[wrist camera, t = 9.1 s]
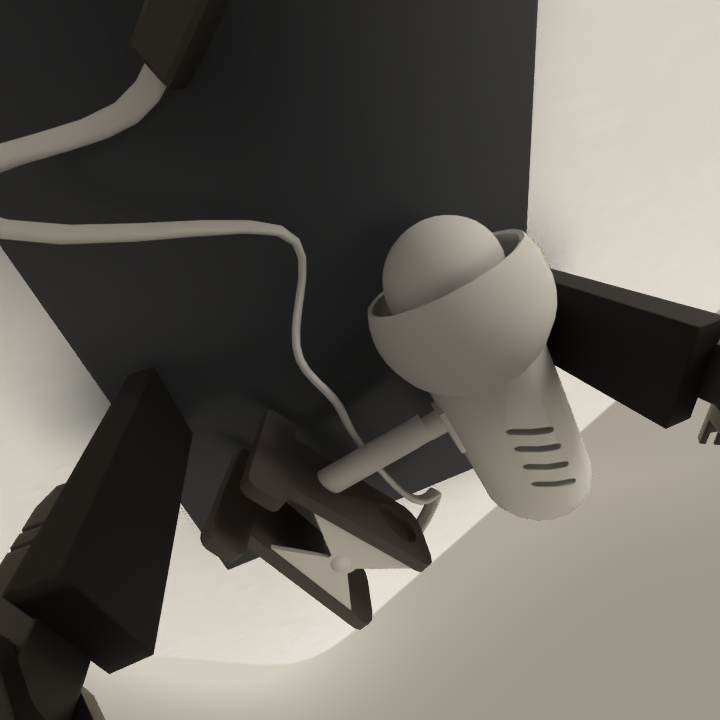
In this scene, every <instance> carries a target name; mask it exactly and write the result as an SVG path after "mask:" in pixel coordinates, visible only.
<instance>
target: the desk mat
mask: <svg viewBox="0 0 720 720" xmlns="http://www.w3.org/2000/svg"><path fill="white" fill-rule="evenodd" d="M144 2H145V0H0V143H4V142H7V141H11V140H15V139H18V138H22V137H25V136H29V135H32V134H36V133H39V132H42V131H45V130H49V129H52V128H55V127H58V126H61V125H65V124H68V123H71V122H74V121H78V120H81V119H83V118H85V117H87V116H89V115H91V114H93V113H95V112H97V111H99V110H101V109H103V108H105V107H107V106H109V105H111V104H114V103H115V102H116V101H117V100H118V99H119V98H120V97H121V96H122V95H123V94H124V93H125V92H126V91H127V90H128V89H129V88H130V87H131V86H132V84H133V83H134V82H135V81H136V80H137V78H138V76H139V74H140V72H141V70H142V68H143V65H144V62H143V61H142V60H141V59H140V58H139V57H138V55H137V54H136V53H135V52H134V51H133V49H132V47H131V42H130V40H131V37H132V34H133V32H134V29H135V26H136V24H137V21H138V18H139V15H140V13H141V10H142V7H143V4H144ZM537 8H538V0H230V2H229V5H228V7H227V9H226V11H225V13H224V15H223V17H222V19H221V21H220V23H219V25H218V27H217V29H216V31H215V33H214V35H213V37H212V39H211V41H210V43H209V45H208V47H207V49H206V51H205V53H204V55H203V57H202V59H201V61H200V63H199V65H198V67H197V69H196V71H195V73H194V75H193V77H192V79H191V81H190V84H189V85H188V86H187V87H186V88H184V89H171V88H168V87H166V89H165V91H164V93H163V95H162V97H161V99H160V101H159V102H158V103H157V104H156V105H155V106H154V107H153V108H152V109H151V110H150V111H149V112H148V113H147V114H146V115H145V116H144V117H143V118H142V119H141V120H140V122H139V123H137V124H135V125H133V126H131V127H129V128H127V129H125V130H123V131H121V132H119V133H117V134H115V135H114V136H112V137H110V138H108V139H105V140H101V141H98V142H95V143H92V144H89V145H86V146H83V147H80V148H77V149H74V150H71V151H68V152H64V153H61V154H58V155H54V156H51V157H47V158H44V159H40V160H37V161H33V162H30V163H27V164H23V165H20V166H17V167H15V168H12V169H9V170H6V171H4V172H1V173H0V217H1V218H4V219H7V220H17V221H29V222H42V223H54V224H67V225H86V224H128V223H155V222H175V221H196V220H252V221H257V222H263V223H269V224H274V225H280V226H283V227H284V228H285V229H287V230H288V231H289V232H291V233H292V234H293V235H295V236H296V237H297V238H299V239H300V242H301V245H302V248H303V250H304V253H305V256H306V284H305V292H304V300H303V308H302V315H301V327H300V345H301V350H302V354H303V358H304V359H305V361H306V363H307V364H308V366H309V368H310V369H311V370H312V371H313V372H314V374H315V375H316V376H317V377H318V378H319V379H320V380H321V381H322V382H323V383H324V384H325V385H326V386H327V387H328V388H329V389H330V390H331V391H332V392H333V393H334V394H335V395H336V396H337V397H338V399H339V400H340V402H341V403H342V404H343V406H344V408H345V410H346V412H347V414H348V416H349V419H350V421H351V423H352V425H353V427H354V429H355V431H356V432H357V434H358V436H359V437H360V439H361V440H362V442H363V443H364V445H365V444H367V443H369V442H370V441H372V440H374V439H376V438H377V437H379V436H381V435H383V434H384V433H386V432H388V431H390V430H391V429H393V428H395V427H397V426H398V425H400V424H402V423H404V422H405V421H407V420H409V419H410V418H412V417H414V416H416V415H417V414H418V415H419V417H420V418H422V417H423V416H425V415H427V414H429V413H430V412H432V411H434V408H433V407H432V405H431V403H433V402H434V400H433V398H432V396H431V395H430V393H429V392H427V391H424V390H422V389H419V388H417V387H415V386H413V385H412V384H410V383H409V382H408V381H406V380H405V379H403V378H402V377H401V376H400V375H398V374H397V373H396V372H395V371H394V370H393V369H392V368H391V367H390V366H389V365H388V364H387V363H386V362H385V361H384V359H383V358H382V357H381V355H380V354H379V352H378V350H377V348H376V346H375V344H374V342H373V339H372V335H371V332H370V329H369V321H368V308H369V306H370V305H371V303H372V302H373V300H374V299H375V298H376V297H377V296H378V295H380V294H381V293H382V292H383V282H382V280H383V269H384V264H385V261H386V258H387V256H388V253H389V252H390V250H391V248H392V246H393V245H394V243H395V242H396V241H397V239H398V238H399V237H400V236H401V235H402V234H403V233H404V232H405V231H406V230H407V229H409V228H410V227H412V226H413V225H415V224H417V223H418V222H420V221H422V220H424V219H428V218H431V217H434V216H440V215H457V216H462V217H467V218H469V219H472V220H475V221H477V222H478V223H480V224H482V225H483V226H485V227H486V228H487V229H488V230H489V231H491V232H492V233H493V232H497V231H503V230H508V229H517V230H523V231H524V232H525V233H526V230H527V210H528V190H529V170H530V150H531V129H532V109H533V89H534V69H535V48H536V28H537ZM0 246H1V247H2V249H3V250H4V252H5V253H6V254H7V256H8V257H9V259H10V260H11V262H12V263H13V264H14V266H15V267H16V269H17V270H18V272H19V273H20V274H21V276H22V277H23V279H24V280H25V282H26V283H27V284H28V286H29V287H30V289H31V290H32V291H33V293H34V294H35V296H36V297H37V299H38V300H39V301H40V303H41V304H42V306H43V307H44V309H45V310H46V311H47V313H48V314H49V316H50V317H51V319H52V320H53V321H54V323H55V324H56V326H57V327H58V329H59V330H60V331H61V333H62V334H63V336H64V337H65V339H66V340H67V341H68V343H69V344H70V346H71V347H72V349H73V350H74V351H75V353H76V354H77V356H78V357H79V359H80V360H81V361H82V363H83V364H84V366H85V367H86V368H87V370H88V371H89V373H90V374H91V376H92V377H93V378H94V380H95V381H96V383H97V384H98V386H99V387H100V388H101V390H102V391H103V393H104V394H105V396H106V397H107V398H108V400H109V401H110V403H111V404H112V402H113V400H114V398H115V397H116V395H117V393H118V391H119V390H120V388H121V386H122V384H123V383H124V381H125V379H126V377H127V376H128V375H129V374H132V373H135V372H139V371H142V370H145V369H149V368H152V367H155V369H156V371H157V373H158V374H159V376H160V378H161V379H162V381H163V383H164V385H165V386H166V388H167V390H168V391H169V393H170V395H171V397H172V398H173V400H174V402H175V404H176V405H177V407H178V409H179V410H180V412H181V414H182V416H183V417H184V419H185V421H186V422H187V424H188V426H189V428H190V429H191V431H192V433H193V435H192V441H191V446H190V452H189V458H188V463H187V469H186V474H185V480H184V486H183V491H182V497H181V504H182V505H183V507H184V508H185V510H186V511H187V512H188V514H189V515H190V517H191V518H192V520H193V521H194V522H195V524H196V525H197V527H198V528H199V530H200V531H201V532H202V529H203V527H204V525H205V522H206V520H207V517H208V515H209V512H210V510H211V507H212V505H213V503H214V500H215V498H216V495H217V493H218V490H219V488H220V485H221V483H222V480H223V478H224V476H225V473H226V471H227V468H228V466H229V463H230V461H231V458H232V457H233V456H234V455H235V454H236V453H237V452H238V451H239V450H240V449H245V450H247V451H249V452H251V449H252V446H253V443H254V440H255V437H256V434H257V431H258V428H259V425H260V422H261V419H262V417H263V416H264V415H265V414H266V413H267V412H268V411H269V410H274V411H275V412H277V413H279V414H280V415H281V416H283V417H284V418H286V419H287V420H288V421H290V422H291V423H292V424H293V425H294V426H295V428H296V439H297V440H299V441H301V442H302V443H304V444H305V445H307V446H308V447H310V448H312V449H313V450H315V451H316V452H318V453H320V454H321V455H323V456H324V457H326V458H328V459H329V460H331V461H332V462H335V461H337V460H339V459H341V458H342V457H344V456H346V455H348V454H349V453H351V452H353V451H355V450H356V449H358V446H357V445H356V444H355V442H354V441H353V439H352V438H351V436H350V435H349V433H348V432H347V430H346V428H345V426H344V424H343V423H342V421H341V419H340V417H339V415H338V413H337V411H336V409H335V407H334V406H333V405H332V403H331V402H330V401H329V400H328V399H327V397H326V396H325V395H324V394H323V393H322V392H321V391H320V390H319V389H317V388H316V387H315V386H314V385H313V384H312V383H311V382H310V380H309V379H308V378H307V377H306V376H305V375H304V374H303V372H302V371H301V369H300V367H299V365H298V364H297V362H296V360H295V356H294V352H293V348H292V321H293V312H294V305H295V298H296V291H297V284H298V257H297V255H296V252H295V250H294V247H293V245H292V244H290V243H288V242H286V241H285V240H283V239H281V238H280V237H278V236H271V235H258V234H230V235H214V236H198V237H185V238H173V239H161V240H149V241H137V242H114V243H85V244H51V243H40V242H30V241H19V240H9V239H0ZM472 468H473V467H472V465H471V463H470V462H469V460H468V458H467V457H466V455H465V453H463V454H462V453H461V451H460V450H459V449H458V447H457V446H456V444H455V443H454V442H453V440H452V439H451V437H450V435H449V434H448V432H446V433H445V434H443V435H441V436H439V437H437V438H436V439H434V440H431V441H429V442H427V443H425V444H424V445H422V446H420V447H419V448H418V449H416V450H414V451H412V452H410V453H409V454H407V455H405V456H403V457H402V458H400V459H398V460H396V461H394V462H393V463H391V464H389V465H387V466H386V467H384V468H383V469H384V470H385V472H386V473H387V474H388V475H389V476H390V477H391V478H392V479H393V480H394V481H395V482H396V483H397V484H398V485H399V486H401V487H402V488H403V489H404V490H406V491H407V492H409V493H410V494H412V493H415V492H417V491H419V490H422V489H424V488H427V487H429V486H431V485H434V484H436V483H439V482H441V481H444V480H446V479H448V478H451V477H453V476H456V475H458V474H460V473H463V472H465V471H468V470H470V469H472ZM362 481H364V482H366V483H367V484H369V485H370V486H372V487H374V488H375V489H377V490H378V491H380V492H382V493H383V494H385V495H386V496H388V497H389V498H391V499H393V500H394V501H395V500H398V499H400V498H403V496H402V495H400V494H399V493H398V492H397V491H396V490H395V489H393V488H392V487H391V486H390V485H389V484H388V483H387V482H386V480H385V479H384V478H383V477H382V476H381V475H380V474H379V473H378V472H375V473H373V474H371V475H370V476H368V477H366V478H364V479H362ZM258 557H259V556H258V555H257V554H255V553H254V552H253V551H251V550H250V549H249V548H248V547H247V550H246V552H245V554H243V555H242V556H241V557H240V558H239V559H237V560H236V561H235V562H232V563H228V562H225V561H224V560H222V559H221V558H220V560H221V561H222V562H223V564H224V565H225V567H226V568H227V569H228V570H229V569H232V568H234V567H236V566H239V565H241V564H244V563H246V562H248V561H251V560H253V559H256V558H258Z"/></svg>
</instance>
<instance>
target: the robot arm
mask: <svg viewBox="0 0 720 720" xmlns="http://www.w3.org/2000/svg"><path fill="white" fill-rule="evenodd" d="M550 270H551V272H552V274H553V278H554V282H555V286H556V290H557V309H556V316H555V320H554V323H553V326H552V329H551V331H550V334H549V337H548V340H547V343H546V344H547V347H548V350H549V352H550V355H551V358H552V360H553V363H554V365H555V366H557V367H559V368H561V369H562V370H564V371H566V372H568V373H569V374H571V375H573V376H575V377H576V378H578V379H580V380H582V381H583V382H585V383H587V384H588V385H590V386H592V387H594V388H595V389H597V390H599V391H601V392H602V393H604V394H606V395H608V396H609V397H611V398H613V399H615V400H616V401H618V402H620V403H622V404H623V405H625V406H627V407H629V408H630V409H632V410H634V411H635V412H637V413H639V414H641V415H642V416H644V417H646V418H648V419H649V420H651V421H653V422H655V423H656V424H658V425H660V426H662V427H663V428H665V429H667V428H669V427H671V426H673V425H676V424H678V423H680V422H682V421H685V420H687V419H689V418H690V417H691V414H692V412H693V409H694V406H695V404H696V401H697V398H700V399H703V400H705V401H707V402H709V403H711V405H710V408H709V410H708V413H707V415H706V418H705V420H704V423H703V425H702V428H701V430H700V433H699V435H698V439H699V443H701V444H706V442H707V439H708V437H709V434H710V433H711V432H717V431H718V433H717V435H716V437H715V440H714V444H715V445H720V315H719V314H715V313H712V312H708V311H704V310H701V309H697V308H693V307H690V306H686V305H682V304H679V303H675V302H671V301H668V300H664V299H660V298H657V297H653V296H649V295H646V294H642V293H638V292H635V291H631V290H627V289H624V288H620V287H616V286H613V285H609V284H605V283H602V282H598V281H595V280H591V279H587V278H584V277H580V276H576V275H573V274H569V273H565V272H562V271H558V270H554V269H551V268H550ZM192 435H193V433H192V431H191V429H190V428H189V426H188V424H187V422H186V421H185V419H184V417H183V416H182V414H181V412H180V410H179V409H178V407H177V405H176V404H175V402H174V400H173V398H172V397H171V395H170V393H169V391H168V390H167V388H166V386H165V385H164V383H163V381H162V379H161V378H160V376H159V374H158V373H157V371H156V369H155V367H152V368H149V369H145V370H142V371H139V372H135V373H132V374H129V375H128V376H127V377H126V379H125V381H124V383H123V384H122V386H121V388H120V390H119V391H118V393H117V395H116V397H115V398H114V400H113V402H112V404H111V405H110V407H109V409H108V411H107V412H106V414H105V416H104V418H103V419H102V421H101V423H100V425H99V426H98V428H97V430H96V432H95V433H94V435H93V437H92V439H91V440H90V442H89V444H88V446H87V447H86V449H85V451H84V453H83V454H82V456H81V458H80V460H79V461H78V463H77V465H76V467H75V468H74V470H73V472H72V474H71V475H70V477H69V479H68V481H67V482H66V483H65V484H62V485H59V486H56V488H55V489H54V490H53V491H52V492H51V493H50V494H49V495H48V496H47V497H46V498H45V499H44V500H43V501H42V502H41V503H40V504H39V505H38V506H37V507H36V508H35V509H34V511H33V513H32V514H31V516H30V518H29V519H28V521H27V522H26V524H25V526H24V527H23V529H22V531H23V533H21V534H19V535H18V537H17V538H16V540H15V542H14V543H13V545H12V546H11V548H10V549H11V552H10V553H7V555H6V556H5V558H4V559H3V561H2V563H1V564H0V720H105V718H104V716H103V714H102V712H101V710H100V708H99V706H98V703H97V701H96V700H95V697H94V695H92V694H91V693H90V692H89V691H88V690H87V689H86V688H84V687H83V683H84V680H85V677H86V674H87V670H88V667H89V664H90V661H92V662H94V663H95V664H96V665H98V666H99V667H100V668H102V669H103V670H104V671H106V672H107V673H109V674H110V673H113V672H115V671H117V670H120V669H122V668H124V667H126V666H129V665H131V664H133V663H135V662H138V661H140V660H142V659H144V658H146V657H149V656H151V655H153V654H154V649H155V643H156V637H157V632H158V626H159V621H160V615H161V609H162V604H163V598H164V592H165V587H166V581H167V576H168V570H169V564H170V559H171V553H172V547H173V542H174V536H175V531H176V525H177V519H178V514H179V508H180V503H181V497H182V491H183V486H184V480H185V474H186V469H187V463H188V458H189V452H190V446H191V441H192Z"/></svg>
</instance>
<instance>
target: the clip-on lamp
mask: <svg viewBox="0 0 720 720" xmlns="http://www.w3.org/2000/svg"><path fill="white" fill-rule="evenodd" d="M229 2H230V0H145V2H144V4H143V7H142V10H141V13H140V15H139V18H138V21H137V24H136V26H135V29H134V32H133V34H132V37H131V40H130V42H131V47H132V49H133V51H134V52H135V53H136V54H137V55H138V57H139V58H140V59H141V60H142V61H143V62H144V65H143V68H142V70H141V72H140V74H139V76H138V78H137V80H136V81H135V82H134V83H133V84H132V86H131V87H130V88H129V89H128V90H127V91H126V92H125V93H124V94H123V95H122V96H121V97H120V98H119V99H118V100H117V101H116V102H115V103H114V104H111V105H109V106H107V107H105V108H103V109H101V110H99V111H97V112H95V113H93V114H91V115H89V116H87V117H85V118H83V119H81V120H78V121H74V122H71V123H68V124H65V125H61V126H58V127H55V128H52V129H49V130H45V131H42V132H39V133H36V134H32V135H29V136H25V137H22V138H18V139H15V140H11V141H7V142H4V143H0V173H1V172H4V171H6V170H9V169H12V168H15V167H17V166H20V165H23V164H27V163H30V162H33V161H37V160H40V159H44V158H47V157H51V156H54V155H58V154H61V153H64V152H68V151H71V150H74V149H77V148H80V147H83V146H86V145H89V144H92V143H95V142H98V141H101V140H105V139H108V138H110V137H112V136H114V135H115V134H117V133H119V132H121V131H123V130H125V129H127V128H129V127H131V126H133V125H135V124H137V123H139V122H140V120H141V119H142V118H143V117H144V116H145V115H146V114H147V113H148V112H149V111H150V110H151V109H152V108H153V107H154V106H155V105H156V104H157V103H158V102H159V101H160V99H161V97H162V95H163V93H164V91H165V89H166V87H168V88H171V89H184V88H186V87H187V86H188V85H189V84H190V81H191V79H192V77H193V75H194V73H195V71H196V69H197V67H198V65H199V63H200V61H201V59H202V57H203V55H204V53H205V51H206V49H207V47H208V45H209V43H210V41H211V39H212V37H213V35H214V33H215V31H216V29H217V27H218V25H219V23H220V21H221V19H222V17H223V15H224V13H225V11H226V9H227V7H228V5H229ZM230 234H258V235H271V236H278V237H280V238H281V239H283V240H285V241H286V242H288V243H290V244H292V245H293V247H294V250H295V252H296V255H297V257H298V284H297V291H296V298H295V305H294V312H293V321H292V348H293V352H294V356H295V360H296V362H297V364H298V365H299V367H300V369H301V371H302V372H303V374H304V375H305V376H306V377H307V378H308V379H309V380H310V382H311V383H312V384H313V385H314V386H315V387H316V388H317V389H319V390H320V391H321V392H322V393H323V394H324V395H325V396H326V397H327V399H328V400H329V401H330V402H331V403H332V405H333V406H334V407H335V409H336V411H337V413H338V415H339V417H340V419H341V421H342V423H343V424H344V426H345V428H346V430H347V432H348V433H349V435H350V436H351V438H352V439H353V441H354V442H355V444H356V445H357V446H358V449H356V450H355V451H353V452H351V453H349V454H348V455H346V456H344V457H342V458H341V459H339V460H337V461H335V462H332V461H331V460H329V459H328V458H326V457H324V456H323V455H321V454H320V453H318V452H316V451H315V450H313V449H312V448H310V447H308V446H307V445H305V444H304V443H302V442H301V441H299V440H297V439H296V428H295V426H294V425H293V424H292V423H291V422H290V421H288V420H287V419H286V418H284V417H283V416H281V415H280V414H279V413H277V412H275V411H274V410H269V411H268V412H267V413H266V414H265V415H264V416H263V417H262V419H261V422H260V425H259V428H258V431H257V434H256V437H255V440H254V443H253V446H252V449H251V452H249V451H247V450H245V449H240V450H239V451H238V452H237V453H236V454H235V455H234V456H233V457H232V458H231V461H230V463H229V466H228V468H227V471H226V473H225V476H224V478H223V480H222V483H221V485H220V488H219V490H218V493H217V495H216V498H215V500H214V503H213V505H212V507H211V510H210V512H209V515H208V517H207V520H206V522H205V525H204V527H203V529H202V532H201V537H200V540H201V542H202V545H203V546H204V547H205V548H206V549H207V550H209V551H210V552H212V553H213V554H215V555H216V556H218V557H219V558H221V559H222V560H224V561H225V562H228V563H232V562H235V561H236V560H237V559H239V558H240V557H241V556H242V555H243V554H245V552H246V550H247V547H248V548H249V549H250V550H251V551H253V552H254V553H255V554H257V555H258V556H259V557H261V558H262V559H263V560H265V561H266V562H267V563H269V564H270V565H271V566H273V567H274V568H275V569H277V570H278V571H279V572H281V573H282V574H283V575H285V576H286V577H287V578H289V579H290V580H291V581H293V582H294V583H295V584H297V585H298V586H299V587H300V588H302V589H303V590H304V591H306V592H307V593H308V594H310V595H311V596H312V597H314V598H315V599H316V600H318V601H319V602H320V603H322V604H323V605H324V606H326V607H327V608H328V609H330V610H331V611H332V612H334V613H335V614H336V615H338V616H339V617H340V618H342V619H343V620H344V621H346V622H347V623H348V624H349V625H351V626H352V627H353V628H355V629H359V630H361V629H362V628H364V627H365V626H366V625H368V624H369V623H370V622H371V620H372V607H371V600H370V593H369V586H368V580H367V576H366V573H365V571H364V569H387V568H412V569H414V570H416V571H419V572H422V571H423V570H424V569H425V568H427V567H428V566H429V565H430V564H431V563H432V560H431V555H430V552H429V549H428V546H427V544H426V541H425V538H424V535H423V532H424V530H425V529H426V527H427V526H428V524H429V522H430V520H431V519H432V517H433V515H434V513H435V511H436V508H437V506H438V504H439V501H440V498H441V493H440V492H439V491H438V490H436V489H434V488H430V489H429V490H428V491H427V492H426V493H424V494H422V495H413V494H410V493H409V492H407V491H406V490H404V489H403V488H402V487H401V486H399V485H398V484H397V483H396V482H395V481H394V480H393V479H392V478H391V477H390V476H389V475H388V474H387V473H386V472H385V470H384V469H383V468H384V467H386V466H387V465H389V464H391V463H393V462H394V461H396V460H398V459H400V458H402V457H403V456H405V455H407V454H409V453H410V452H412V451H414V450H416V449H418V448H419V447H420V446H422V445H424V444H425V443H427V442H429V441H431V440H434V439H436V438H437V437H439V436H441V435H443V434H445V433H446V432H448V434H449V435H450V437H451V439H452V440H453V442H454V443H455V444H456V446H457V447H458V449H459V450H460V451H461V453H462V454H463V453H465V455H466V457H467V458H468V460H469V462H470V463H471V465H472V467H473V469H474V470H475V472H476V474H477V475H478V477H479V479H480V481H481V482H482V484H483V486H484V487H485V489H486V491H487V493H488V494H489V496H490V497H491V498H492V499H493V501H494V502H495V503H496V504H497V505H498V506H499V507H501V508H503V509H504V510H506V511H508V512H510V513H512V514H514V515H516V516H518V517H522V518H526V519H532V520H537V521H539V520H550V519H551V520H552V519H556V518H559V517H562V516H564V515H567V514H569V513H570V512H572V511H573V510H574V509H576V508H577V507H578V506H580V505H581V504H582V502H583V501H584V499H585V497H586V496H587V495H588V493H589V491H590V488H591V481H592V467H591V463H590V459H589V456H588V453H587V450H586V448H585V445H584V442H583V440H582V437H581V435H580V432H579V429H578V427H577V424H576V421H575V419H574V416H573V413H572V411H571V408H570V405H569V403H568V400H567V397H566V395H565V392H564V389H563V387H562V384H561V381H560V379H559V376H558V374H557V371H556V368H555V366H554V363H553V360H552V358H551V355H550V352H549V350H548V347H547V344H546V343H547V340H548V337H549V334H550V331H551V329H552V326H553V323H554V320H555V316H556V309H557V290H556V286H555V282H554V278H553V274H552V272H551V270H550V268H549V266H548V264H547V262H546V260H545V258H544V256H543V254H542V252H541V250H540V249H539V248H538V246H537V245H536V244H535V242H534V241H533V240H532V239H531V238H530V237H529V236H528V235H527V234H526V233H525V232H524V231H523V230H517V229H508V230H503V231H497V232H493V233H492V232H491V231H489V230H488V229H487V228H486V227H485V226H483V225H482V224H480V223H478V222H477V221H475V220H472V219H469V218H467V217H462V216H457V215H440V216H434V217H431V218H428V219H424V220H422V221H420V222H418V223H417V224H415V225H413V226H412V227H410V228H409V229H407V230H406V231H405V232H404V233H403V234H402V235H401V236H400V237H399V238H398V239H397V241H396V242H395V243H394V245H393V246H392V248H391V250H390V252H389V253H388V256H387V258H386V261H385V264H384V269H383V280H382V282H383V292H382V293H381V294H380V295H378V296H377V297H376V298H375V299H374V300H373V302H372V303H371V305H370V306H369V308H368V321H369V329H370V332H371V335H372V339H373V342H374V344H375V346H376V348H377V350H378V352H379V354H380V355H381V357H382V358H383V359H384V361H385V362H386V363H387V364H388V365H389V366H390V367H391V368H392V369H393V370H394V371H395V372H396V373H397V374H398V375H400V376H401V377H402V378H403V379H405V380H406V381H408V382H409V383H410V384H412V385H413V386H415V387H417V388H419V389H422V390H424V391H427V392H429V393H430V395H431V396H432V398H433V400H434V402H433V403H431V405H432V407H433V408H434V411H432V412H430V413H429V414H427V415H425V416H423V417H422V418H420V417H419V415H418V414H417V415H416V416H414V417H412V418H410V419H409V420H407V421H405V422H404V423H402V424H400V425H398V426H397V427H395V428H393V429H391V430H390V431H388V432H386V433H384V434H383V435H381V436H379V437H377V438H376V439H374V440H372V441H370V442H369V443H367V444H365V445H364V443H363V442H362V440H361V439H360V437H359V436H358V434H357V432H356V431H355V429H354V427H353V425H352V423H351V421H350V419H349V416H348V414H347V412H346V410H345V408H344V406H343V404H342V403H341V402H340V400H339V399H338V397H337V396H336V395H335V394H334V393H333V392H332V391H331V390H330V389H329V388H328V387H327V386H326V385H325V384H324V383H323V382H322V381H321V380H320V379H319V378H318V377H317V376H316V375H315V374H314V372H313V371H312V370H311V369H310V368H309V366H308V364H307V363H306V361H305V359H304V358H303V354H302V350H301V345H300V327H301V315H302V308H303V300H304V292H305V284H306V256H305V253H304V250H303V248H302V245H301V242H300V239H299V238H297V237H296V236H295V235H293V234H292V233H291V232H289V231H288V230H287V229H285V228H284V227H283V226H280V225H274V224H269V223H263V222H257V221H252V220H196V221H175V222H155V223H128V224H86V225H67V224H54V223H42V222H29V221H17V220H7V219H4V218H1V217H0V239H9V240H19V241H30V242H40V243H51V244H85V243H114V242H137V241H149V240H161V239H173V238H185V237H198V236H214V235H230ZM375 472H378V473H379V474H380V475H381V476H382V477H383V478H384V479H385V480H386V482H387V483H388V484H389V485H390V486H391V487H392V488H393V489H395V490H396V491H397V492H398V493H399V494H400V495H402V496H403V497H404V498H406V499H408V500H409V501H411V502H413V503H416V504H419V505H422V504H425V505H424V507H423V509H422V511H421V512H420V514H419V516H418V518H417V519H416V518H415V517H414V516H413V514H412V513H411V512H410V511H409V510H408V509H406V508H405V507H404V506H402V505H401V504H399V503H397V502H396V501H394V500H393V499H391V498H389V497H388V496H386V495H385V494H383V493H382V492H380V491H378V490H377V489H375V488H374V487H372V486H370V485H369V484H367V483H366V482H364V481H362V479H364V478H366V477H368V476H370V475H371V474H373V473H375Z"/></svg>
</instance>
